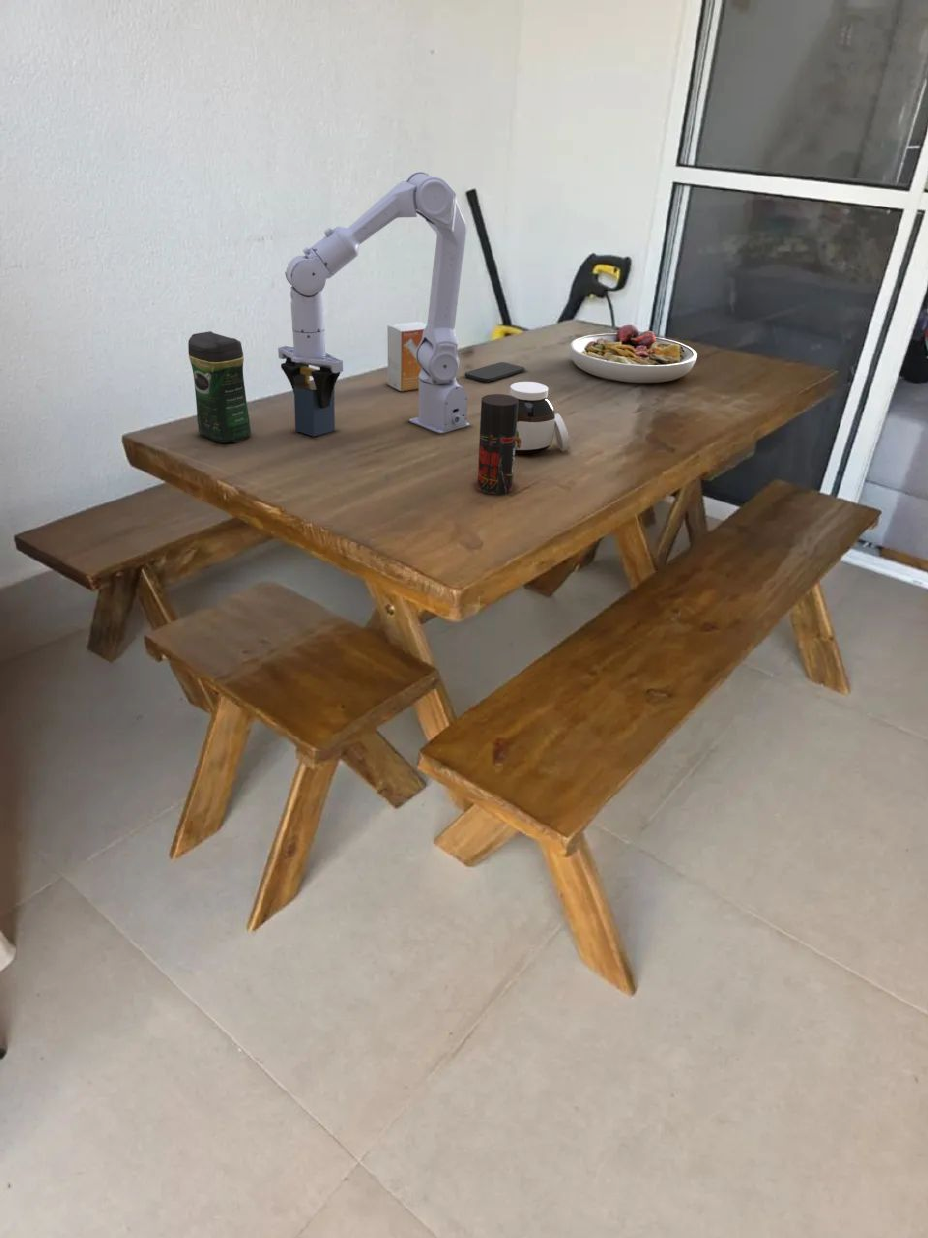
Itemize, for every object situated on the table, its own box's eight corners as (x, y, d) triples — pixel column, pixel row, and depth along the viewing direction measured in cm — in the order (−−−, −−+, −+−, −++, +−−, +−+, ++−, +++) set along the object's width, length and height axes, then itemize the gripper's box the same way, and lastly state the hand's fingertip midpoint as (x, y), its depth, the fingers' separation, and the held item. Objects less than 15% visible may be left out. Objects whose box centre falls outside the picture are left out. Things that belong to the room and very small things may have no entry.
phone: (526, 367, 203) (487, 379, 193) (526, 371, 203) (487, 383, 193) (501, 361, 207) (462, 372, 197) (501, 364, 207) (462, 376, 197)
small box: (401, 392, 186) (401, 330, 179) (387, 384, 190) (386, 324, 183) (432, 387, 190) (434, 327, 183) (418, 379, 194) (418, 320, 187)
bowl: (705, 390, 195) (712, 355, 191) (575, 384, 195) (578, 349, 191) (679, 355, 221) (684, 324, 217) (563, 350, 221) (566, 319, 217)
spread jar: (491, 444, 160) (495, 383, 154) (536, 433, 166) (541, 374, 160) (533, 465, 152) (539, 400, 146) (579, 452, 158) (586, 390, 152)
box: (313, 363, 160) (292, 368, 156) (335, 369, 158) (313, 374, 154) (315, 424, 166) (294, 430, 162) (335, 430, 163) (315, 437, 159)
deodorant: (475, 480, 145) (479, 393, 138) (510, 480, 146) (516, 394, 138) (479, 494, 140) (483, 405, 133) (514, 494, 141) (521, 405, 133)
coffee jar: (258, 437, 159) (249, 335, 149) (223, 447, 154) (211, 343, 144) (227, 424, 165) (216, 325, 155) (192, 434, 159) (178, 332, 150)
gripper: (263, 325, 153) (269, 400, 160) (322, 340, 146) (325, 417, 153) (292, 319, 158) (297, 391, 165) (350, 333, 151) (352, 408, 158)
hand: (312, 403), depth 160 cm, fingers open, 5 cm apart
